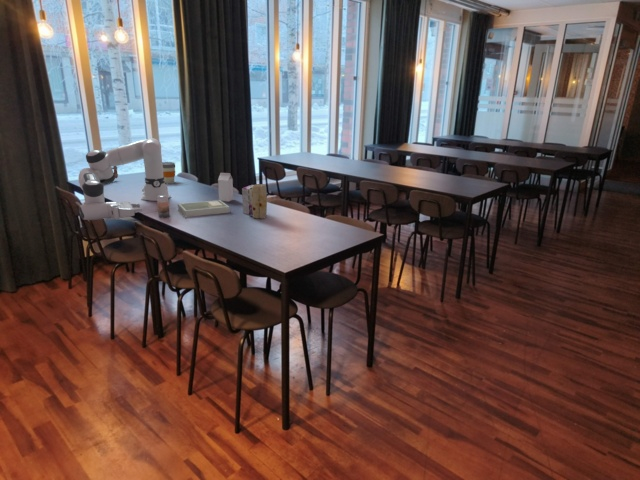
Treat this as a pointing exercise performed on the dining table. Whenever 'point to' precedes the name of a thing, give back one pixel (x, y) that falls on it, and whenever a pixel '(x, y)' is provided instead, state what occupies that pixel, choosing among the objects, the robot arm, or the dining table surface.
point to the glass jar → (163, 206)
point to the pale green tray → (201, 209)
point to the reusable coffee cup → (168, 171)
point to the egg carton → (214, 204)
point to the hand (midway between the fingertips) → (140, 207)
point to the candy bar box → (247, 199)
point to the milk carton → (225, 187)
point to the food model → (259, 201)
